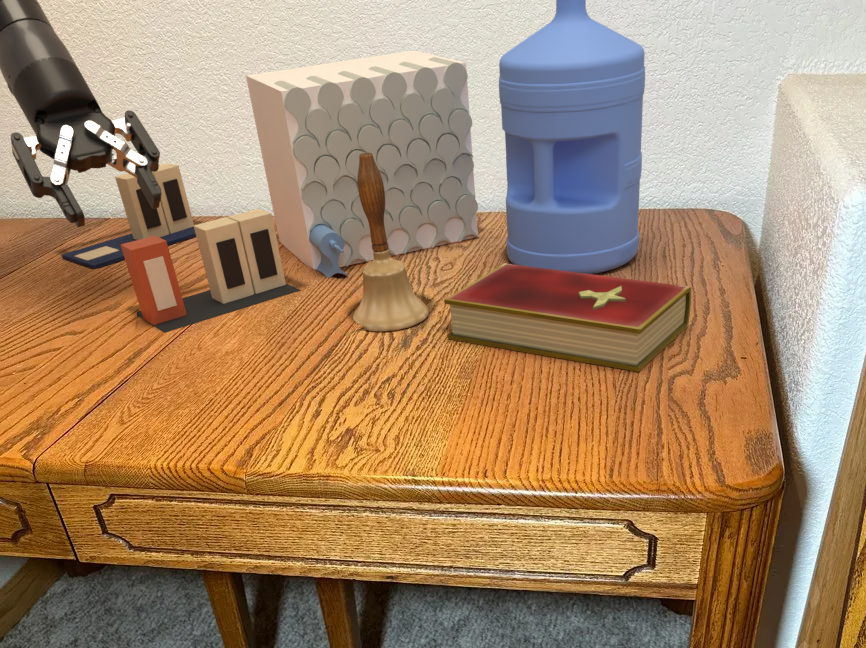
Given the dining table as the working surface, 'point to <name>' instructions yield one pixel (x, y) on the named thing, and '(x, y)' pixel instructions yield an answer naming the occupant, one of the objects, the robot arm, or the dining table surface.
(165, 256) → the red rectangular block
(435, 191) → the scalloped white box
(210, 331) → the dining table surface
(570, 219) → the water jug
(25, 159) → the robot arm
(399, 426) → the dining table surface
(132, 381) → the dining table surface
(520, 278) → the hardcover book
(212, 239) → the front word mat
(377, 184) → the hand bell
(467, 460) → the dining table surface
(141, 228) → the mat
